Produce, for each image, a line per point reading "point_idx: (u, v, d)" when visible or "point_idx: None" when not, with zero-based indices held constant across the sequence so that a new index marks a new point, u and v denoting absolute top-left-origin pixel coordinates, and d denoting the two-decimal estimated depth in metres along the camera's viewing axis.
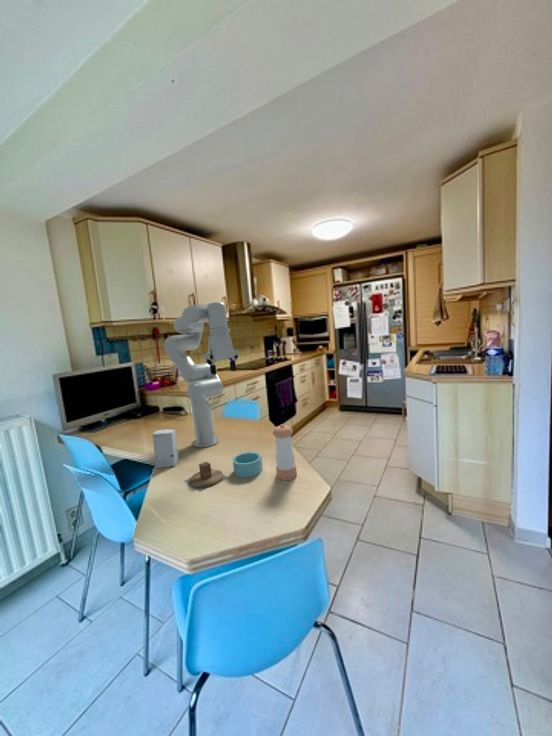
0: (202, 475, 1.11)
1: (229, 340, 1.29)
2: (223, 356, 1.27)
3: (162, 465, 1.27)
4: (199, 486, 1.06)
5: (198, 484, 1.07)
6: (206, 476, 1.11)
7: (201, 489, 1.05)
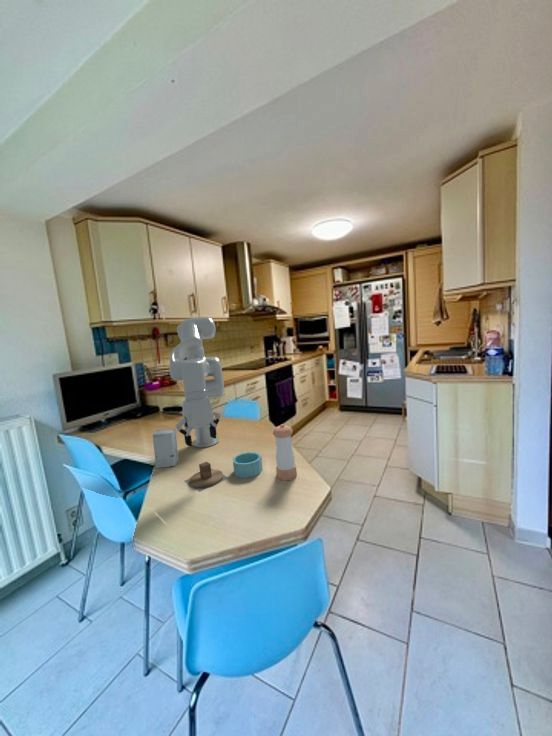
0: (202, 475, 1.11)
1: (208, 404, 1.09)
2: (200, 424, 1.07)
3: (162, 465, 1.27)
4: (199, 486, 1.06)
5: (198, 484, 1.07)
6: (206, 476, 1.11)
7: (201, 489, 1.05)
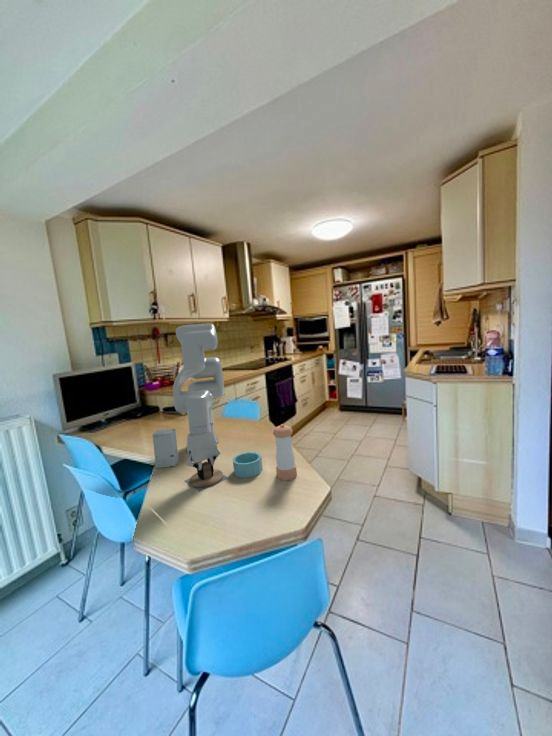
0: None
1: (212, 437, 1.11)
2: (204, 457, 1.09)
3: (162, 465, 1.27)
4: (199, 486, 1.06)
5: (198, 484, 1.07)
6: (206, 476, 1.11)
7: (201, 489, 1.05)
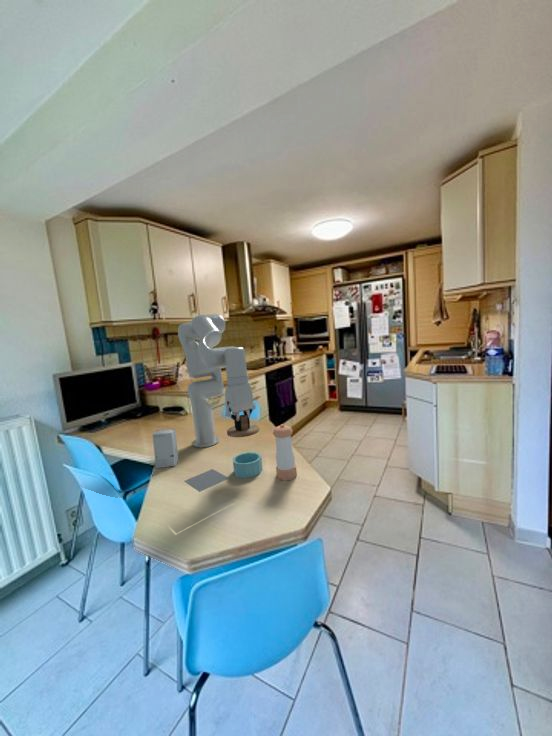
0: None
1: (249, 389, 1.13)
2: (242, 408, 1.11)
3: (162, 465, 1.27)
4: (238, 435, 1.08)
5: (236, 434, 1.09)
6: (243, 427, 1.13)
7: (201, 489, 1.05)
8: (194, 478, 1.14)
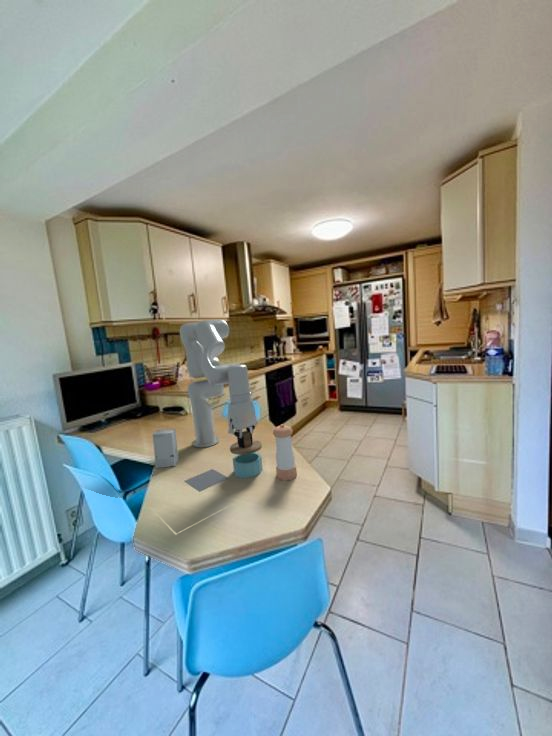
0: None
1: (251, 406, 1.14)
2: (245, 425, 1.12)
3: (162, 465, 1.27)
4: (241, 453, 1.09)
5: (240, 451, 1.10)
6: (246, 444, 1.13)
7: (201, 489, 1.05)
8: (194, 478, 1.14)
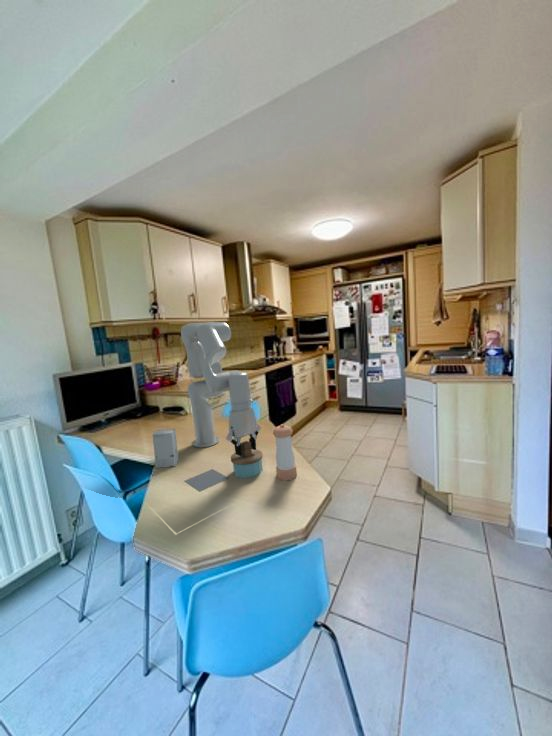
0: (243, 453, 1.14)
1: (252, 414, 1.14)
2: (246, 433, 1.12)
3: (162, 465, 1.27)
4: (242, 463, 1.10)
5: (240, 461, 1.10)
6: (247, 454, 1.14)
7: (201, 489, 1.05)
8: (194, 478, 1.14)
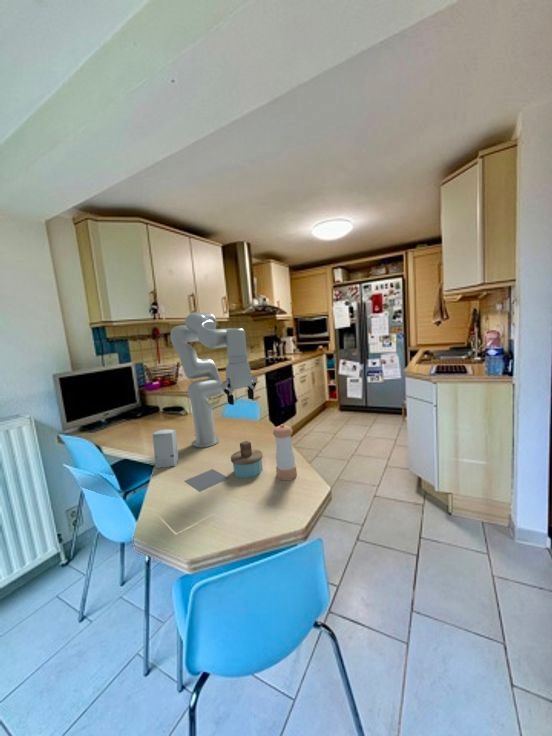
0: (243, 453, 1.14)
1: (248, 368, 1.22)
2: (241, 385, 1.20)
3: (162, 465, 1.27)
4: (242, 463, 1.10)
5: (240, 461, 1.10)
6: (247, 454, 1.14)
7: (201, 489, 1.05)
8: (194, 478, 1.14)
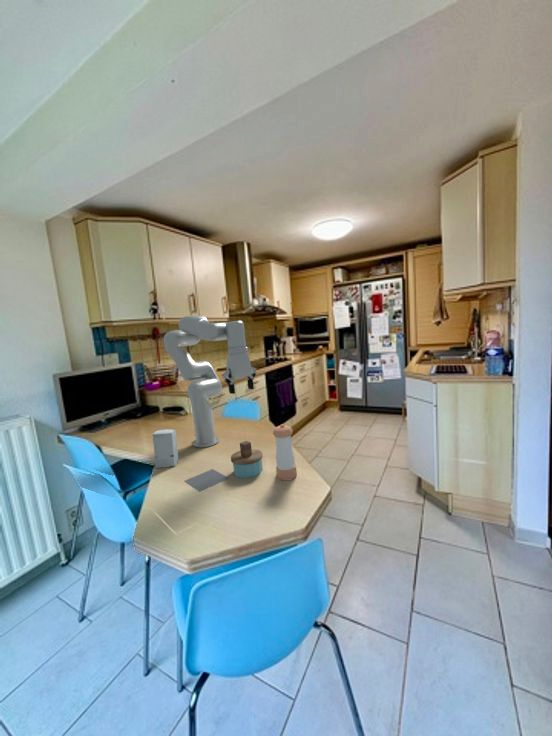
0: (243, 453, 1.14)
1: (247, 359, 1.28)
2: (241, 375, 1.26)
3: (162, 465, 1.27)
4: (242, 463, 1.10)
5: (240, 461, 1.10)
6: (247, 454, 1.14)
7: (201, 489, 1.05)
8: (194, 478, 1.14)
